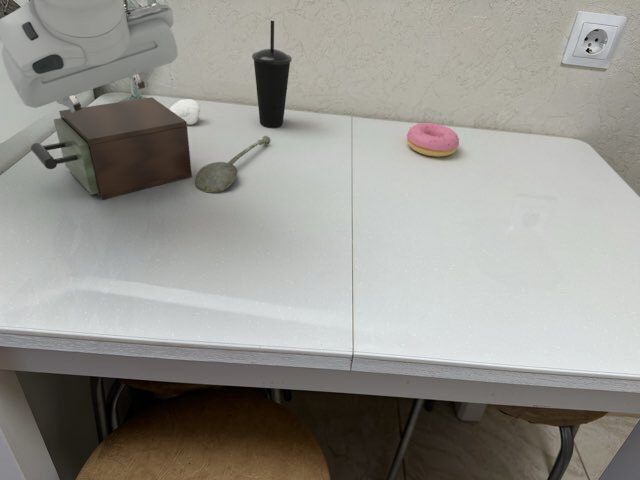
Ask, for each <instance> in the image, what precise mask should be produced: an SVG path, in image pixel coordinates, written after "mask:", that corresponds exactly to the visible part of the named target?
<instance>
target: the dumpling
mask: <svg viewBox="0 0 640 480" xmlns="http://www.w3.org/2000/svg"><path fill="white" fill-rule="evenodd" d="M168 109H169V110H171V111H172V112H174V113H175V114H176V115H178V116H179V117H181V118H182V119H184V120H185V121H186V122H187V126H188V125H189V126H192V125H194V124H196V123H197V122H198V120H199V117H200V112H201V105H200V104H199V102H198V101H196V100H194V99H190V98H186V99H180V100H178V101H177V102H175V103H173V104H171V105H170V108H168Z"/></svg>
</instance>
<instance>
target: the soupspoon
mask: <svg viewBox="0 0 640 480" xmlns="http://www.w3.org/2000/svg"><path fill="white" fill-rule="evenodd" d="M271 141H272V139H271V137H270V136H269V135H264V136H262V138H261V139H258V140H257V141H256V142H254V143H252V144H250V145H249V146H248V147H247V148H245V149H243V150H242V151H241V152H239V153H238V154H236V155H235V156H234V157H232V158H231V159H230V160H229V161H228V162H225V161H217V162H211V163H208V164H206V165H204V166H202V167H201V168H200V169H199V170H198V171H197V173H196V175H195V177H194V178H195V179H194V182H195V185H196V187H197V188H198V189H199V190H201V191H202V192H206V193H211V194H213V193H214V194H215V193H220V192H223V191H225V190H227V189H228V188H229V187H230V186H232V185H233V183H234V182H235V180H236V179H237V177H238V168H237V166H236V165H234V164H235V163H236V162H237V161H238V160H239V159H240V158H242V157H243V156H244V155H246V154H247V153H248V152H250V151H251V150H252V149H254V148H256V147H257V146H261V145H267V146H268V145H270V144H271Z"/></svg>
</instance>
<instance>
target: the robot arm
mask: <svg viewBox="0 0 640 480" xmlns="http://www.w3.org/2000/svg"><path fill="white" fill-rule="evenodd" d="M124 3H125V2H124V0H29V1H27V2H26V3H25V4H23V5H21V6H20V7H19V8H17V9H15V10H14V11H12V12H10V13H8V14H7V15H4V16H2V17H1V18H0V40H1V42H2V45H3V46H2V48H1V58H2V61H3V66H4V68H5V70H6V73H7V76H8V78H9V80H10V82H11V84H12V86H13V87H14V89H15V91H16V93H17V95H18V97H19V98H20V100H21V101H22V103H23V104H24V105H25V106H26V107H29V108H33V109H38V108H41V107H43V106H46V105H49V104H52V103H55V102H56V103H57V104H59V105H62V106H65V107H67V108H68V110H69V109H70V111H71V112H72V113H73V112H75V111H78V110H81V109H82V108H83V107H82V105H81V102H80V100H79V99H78V98H77V96H76V95H79V94H82V93H85V92H88V91H90V90H94V89H97V88H100V87H103V86H106V85H108V84H112V83H115V82H118V81H121V80H124V79H127V78H130V77H132V82H133V84H134V85H135V86H136V89H137V90H142V89H145V88H147V87H149V83H148V80H149V78H150V77H151V76H152V75H153V73H154V71H155V70H154V69H157V68H160V67H163V66H166V65H168V64H172V63H173V62H175V60H176V59H177V57H178V55H179V51H178V47H177V41H176V39H175V36H174V33H173V31H172V29H171V28H172V27H173V25H174V13H173V9H172V8H171V7H170V6H169V5H166V4H161V3H159V2H152V3H151V2H150V3H148V4H147V5H144V6H138V7H132V8H130V9H126V7H125V4H124Z"/></svg>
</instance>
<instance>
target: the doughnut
mask: <svg viewBox="0 0 640 480" xmlns="http://www.w3.org/2000/svg"><path fill="white" fill-rule="evenodd" d="M406 142H407V145H408V146H409V148H410V149H412V150H413V151H415V152H416V153H418V154H421V155H424V156H428V157H437V158H440V157H447V156H450V155H452V154H454V153H455V152H456V151H457V149H458V147H459V146H460V138H459V135H458V133H456V131H454V130H453V129H452V128H450V127H447V126H445V125H443V124H439V123H432V122H422V123H417V124H414V125H412V127H409V129H408V131H407V133H406Z"/></svg>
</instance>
